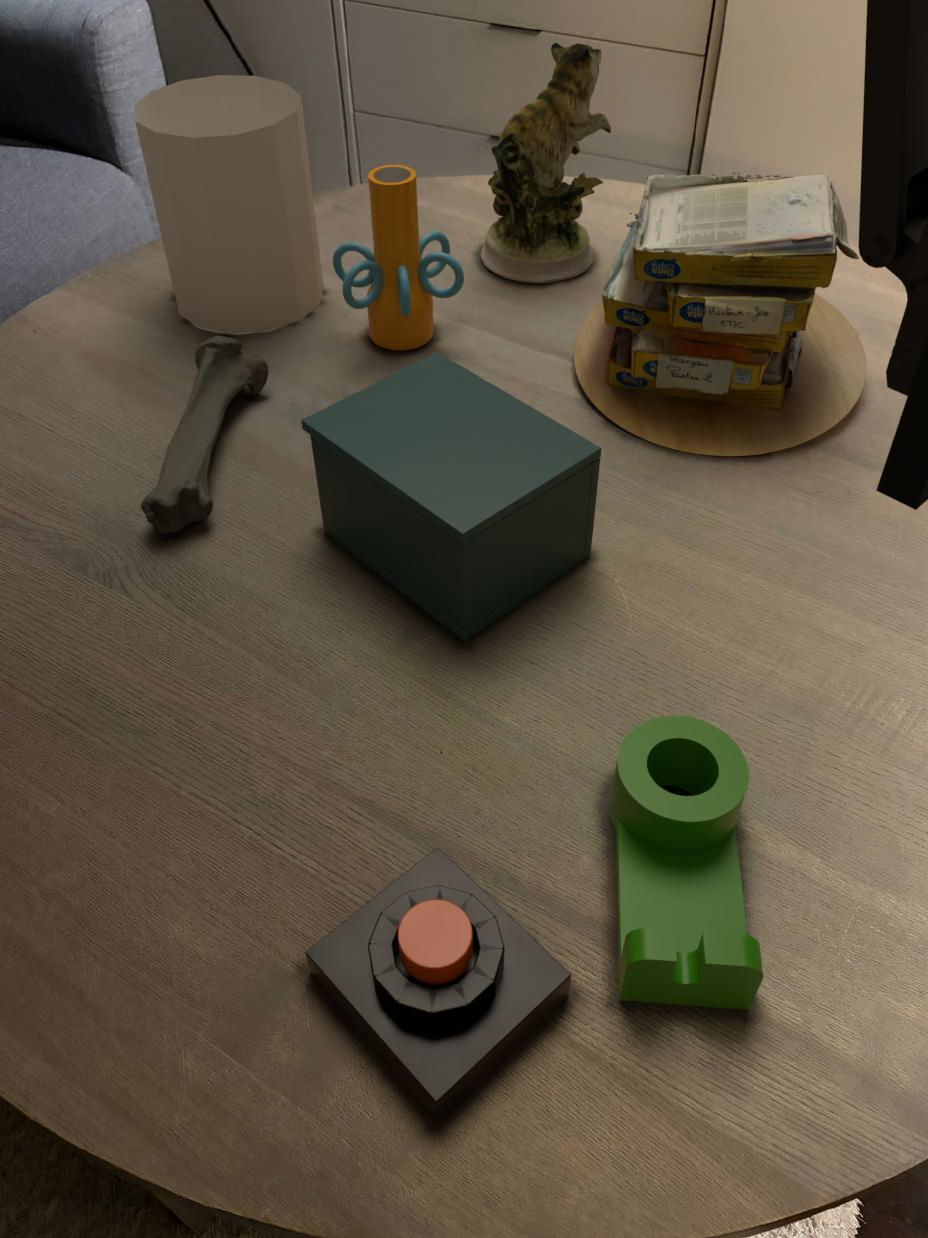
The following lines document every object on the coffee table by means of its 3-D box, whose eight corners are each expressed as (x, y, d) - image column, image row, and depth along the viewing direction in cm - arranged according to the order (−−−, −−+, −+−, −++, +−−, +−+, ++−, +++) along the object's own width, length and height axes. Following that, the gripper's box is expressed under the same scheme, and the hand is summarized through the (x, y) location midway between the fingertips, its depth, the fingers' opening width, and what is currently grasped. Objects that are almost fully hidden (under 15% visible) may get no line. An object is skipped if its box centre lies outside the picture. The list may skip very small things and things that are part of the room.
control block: (569, 994, 53) (574, 957, 50) (437, 1120, 49) (434, 1088, 46) (439, 867, 58) (436, 828, 56) (309, 971, 54) (300, 935, 51)
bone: (205, 378, 93) (190, 317, 89) (277, 379, 93) (266, 318, 88) (134, 542, 78) (112, 478, 74) (220, 545, 78) (203, 480, 73)
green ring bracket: (609, 760, 63) (616, 712, 60) (727, 767, 63) (741, 719, 60) (612, 999, 53) (621, 957, 50) (755, 1010, 53) (773, 968, 49)
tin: (323, 531, 79) (310, 434, 72) (448, 460, 84) (445, 365, 78) (464, 641, 70) (462, 544, 64) (591, 555, 76) (600, 458, 70)
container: (258, 247, 110) (228, 63, 97) (354, 290, 104) (336, 99, 91) (147, 300, 103) (99, 109, 90) (243, 350, 96) (205, 151, 83)
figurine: (622, 256, 108) (644, 45, 94) (527, 299, 102) (534, 82, 88) (546, 218, 114) (555, 15, 100) (451, 257, 108) (447, 47, 94)
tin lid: (302, 429, 73) (300, 419, 72) (437, 360, 79) (437, 351, 78) (462, 543, 64) (462, 533, 64) (601, 457, 70) (602, 447, 69)
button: (488, 951, 51) (488, 934, 50) (432, 1000, 49) (431, 984, 48) (439, 902, 53) (438, 885, 52) (384, 948, 51) (382, 931, 50)
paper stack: (823, 488, 81) (883, 290, 69) (530, 411, 89) (538, 220, 77) (881, 336, 97) (938, 153, 85) (627, 281, 104) (647, 106, 92)
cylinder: (387, 382, 92) (374, 217, 82) (316, 337, 98) (295, 177, 87) (487, 332, 98) (488, 172, 87) (415, 292, 103) (408, 136, 93)
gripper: (863, -526, 21) (695, 449, 37) (1732, -584, 14) (1054, 635, 31) (1036, -519, 24) (812, 368, 41) (1792, -562, 18) (1156, 518, 34)
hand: (916, 482), depth 36 cm, fingers closed
